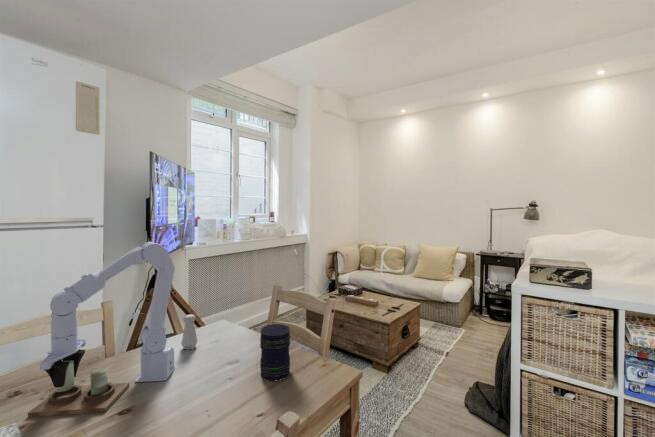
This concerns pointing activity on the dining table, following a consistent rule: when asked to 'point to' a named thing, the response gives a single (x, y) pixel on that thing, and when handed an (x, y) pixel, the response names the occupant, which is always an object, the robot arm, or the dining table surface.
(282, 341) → the storage jar
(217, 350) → the dining table surface
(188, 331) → the salt shaker
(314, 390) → the dining table surface
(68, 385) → the loose peg
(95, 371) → the peg stand
